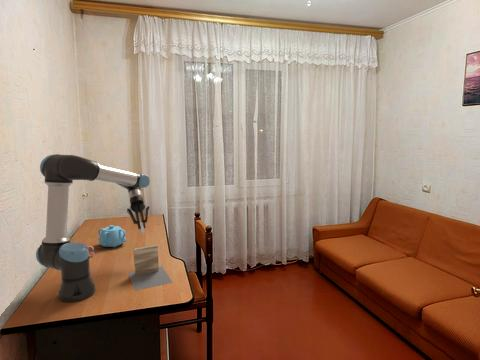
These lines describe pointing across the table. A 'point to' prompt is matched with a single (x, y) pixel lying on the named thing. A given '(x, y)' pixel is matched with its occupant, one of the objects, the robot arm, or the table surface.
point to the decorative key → (92, 251)
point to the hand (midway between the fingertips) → (142, 233)
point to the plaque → (146, 259)
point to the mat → (149, 279)
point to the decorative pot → (111, 236)
